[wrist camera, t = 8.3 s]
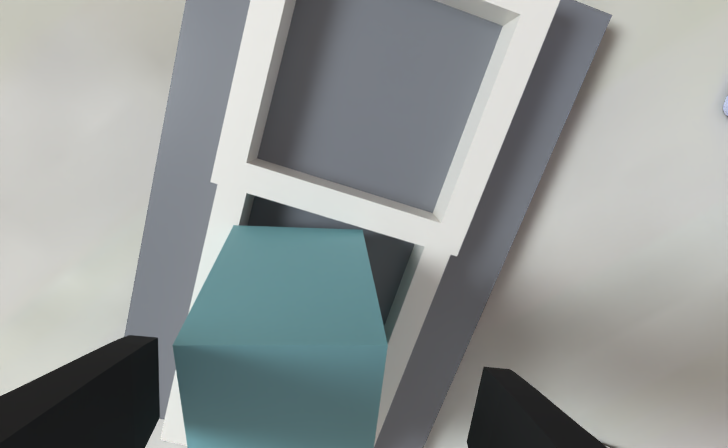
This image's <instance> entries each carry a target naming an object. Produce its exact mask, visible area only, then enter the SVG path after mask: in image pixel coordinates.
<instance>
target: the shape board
mask: <svg viewBox="0 0 728 448" xmlns="http://www.w3.org/2000/svg"><path fill="white" fill-rule="evenodd" d="M611 17H612V15H611V14H608V13H605V12H603V11H600V10H598V9H595V8H592V7H590V6H587V5H585V4H582V3H580V2H577V1H574V0H186V3H185V9H184V14H183V20H182V25H181V30H180V36H179V41H178V47H177V52H176V58H175V63H174V69H173V74H172V80H171V85H170V90H169V96H168V101H167V107H166V112H165V118H164V123H163V129H162V134H161V140H160V145H159V150H158V156H157V161H156V167H155V172H154V178H153V183H152V189H151V194H150V200H149V205H148V210H147V216H146V221H145V227H144V232H143V238H142V243H141V249H140V254H139V260H138V265H137V270H136V276H135V281H134V287H133V292H132V298H131V303H130V309H129V314H128V320H127V325H126V330H125V336H124V337H126V336H128V335H135V336H146V337H157V338H158V357H159V398H160V419H164V423H163V428H162V432H161V437H160V440H163V441H167V442H171V443H176V444H180V445H185V446H187V440H186V434H185V427H184V420H183V413H182V407H181V400H180V393H179V386H178V380H177V373H176V366H175V359H174V352H173V346H172V345H173V343H174V341H175V339H176V337H177V336H178V334H179V332H180V330H181V328H182V326H183V324H184V322H185V320H186V318H187V316H188V314H189V312H190V310H191V308H192V306H193V304H194V302H195V300H196V298H197V296H198V294H199V292H200V290H201V288H202V286H203V284H204V282H205V280H206V278H207V276H208V275H209V273H210V271H211V269H212V267H213V265H214V263H215V261H216V259H217V257H218V255H219V253H220V251H221V249H222V247H223V245H224V243H225V241H226V239H227V237H228V235H229V233H230V231H231V229H232V227H233V225H240V226H269V227H297V228H326V229H355V230H363V234H364V239H365V243H366V248H367V253H368V257H369V262H370V266H371V271H372V275H373V280H374V284H375V289H376V293H377V298H378V302H379V307H380V312H381V316H382V321H383V325H384V330H385V334H386V339H387V343H388V348H387V355H386V362H385V370H384V377H383V384H382V392H381V399H380V406H379V414H378V421H377V428H376V436H375V443H374V448H423V447H424V445H425V442H426V440H427V438H428V436H429V433H430V431H431V429H432V426H433V424H434V422H435V420H436V417H437V415H438V413H439V410H440V408H441V406H442V404H443V401H444V399H445V397H446V394H447V392H448V390H449V387H450V385H451V383H452V381H453V378H454V376H455V374H456V371H457V369H458V367H459V365H460V362H461V360H462V358H463V355H464V353H465V351H466V349H467V346H468V344H469V342H470V339H471V337H472V335H473V333H474V330H475V328H476V326H477V323H478V321H479V319H480V317H481V314H482V312H483V310H484V307H485V305H486V303H487V300H488V298H489V296H490V294H491V291H492V289H493V287H494V284H495V282H496V280H497V278H498V275H499V273H500V271H501V268H502V266H503V264H504V262H505V259H506V257H507V255H508V252H509V250H510V248H511V246H512V243H513V241H514V239H515V236H516V234H517V232H518V230H519V227H520V225H521V223H522V220H523V218H524V216H525V213H526V211H527V209H528V207H529V204H530V202H531V200H532V197H533V195H534V193H535V191H536V188H537V186H538V184H539V181H540V179H541V177H542V175H543V172H544V170H545V168H546V165H547V163H548V161H549V159H550V156H551V154H552V152H553V149H554V147H555V145H556V143H557V140H558V138H559V136H560V133H561V131H562V129H563V126H564V124H565V122H566V120H567V117H568V115H569V113H570V110H571V108H572V106H573V104H574V101H575V99H576V97H577V94H578V92H579V90H580V88H581V85H582V83H583V81H584V78H585V76H586V74H587V72H588V69H589V67H590V65H591V62H592V60H593V58H594V56H595V53H596V51H597V49H598V46H599V44H600V42H601V39H602V37H603V35H604V33H605V30H606V28H607V26H608V23H609V21H610V19H611Z"/></svg>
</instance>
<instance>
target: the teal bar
mask: <svg viewBox="0 0 728 448" xmlns="http://www.w3.org/2000/svg"><path fill="white" fill-rule="evenodd" d="M172 346H173V352H174V359H175V366H176V373H177V380H178V386H179V393H180V400H181V407H182V413H183V420H184V427H185V434H186V440H187V447H188V448H374V443H375V436H376V428H377V421H378V414H379V406H380V399H381V392H382V384H383V377H384V370H385V362H386V355H387V348H388V343H387V339H386V334H385V330H384V325H383V321H382V316H381V312H380V307H379V302H378V298H377V293H376V289H375V284H374V280H373V275H372V271H371V266H370V262H369V257H368V253H367V248H366V243H365V239H364V234H363V230H355V229H326V228H297V227H269V226H240V225H233V227H232V229H231V231H230V233H229V235H228V237H227V239H226V241H225V243H224V245H223V247H222V249H221V251H220V253H219V255H218V257H217V259H216V261H215V263H214V265H213V267H212V269H211V271H210V273H209V275H208V276H207V278H206V280H205V282H204V284H203V286H202V288H201V290H200V292H199V294H198V296H197V298H196V300H195V302H194V304H193V306H192V308H191V310H190V312H189V314H188V316H187V318H186V320H185V322H184V324H183V326H182V328H181V330H180V332H179V334H178V336H177V337H176V339H175V341H174V343H173V345H172Z"/></svg>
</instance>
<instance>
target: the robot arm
mask: <svg viewBox="0 0 728 448" xmlns="http://www.w3.org/2000/svg"><path fill="white" fill-rule="evenodd" d="M723 110H724V113H725V115H727V116H728V96H727V98H726V100H725V102H724V105H723ZM159 418H160V398H159V357H158V338H157V337H146V336H135V335H128V336H126V337H123V338H121V339H118V340H116V341H114V342H111V343H109V344H107V345H105V346H103V347H101V348H99V349H97V350H95V351H93V352H90V353H88V354H86V355H84V356H82V357H80V358H78V359H76V360H74V361H72V362H70V363H68V364H66V365H64V366H62V367H60V368H58V369H56V370H54V371H52V372H50V373H48V374H46V375H43V376H41V377H39V378H37V379H35V380H33V381H31V382H29V383H27V384H25V385H23V386H21V387H19V388H17V389H15V390H13V391H10V392H8V393H6V394H4V395H2V396H0V448H145V446H146V444H147V442H148V440H149V438H150V436H151V434H152V432H153V430H154V428H155V426H156V424H157V422H158V420H159ZM467 444H468V448H607V447H606V446H605V445H603V444H602V443H601V442H600V441H598V440H597V439H596V438H595V437H593V436H592V435H591V434H590V433H588V432H587V431H586V430H585V429H584V428H582V427H581V426H580V425H579V424H577V423H576V422H575V421H574V420H573V419H571V418H570V417H569V416H568V415H567V414H565V413H564V412H563V411H562V410H560V409H559V408H558V407H557V406H556V405H554V404H553V403H552V402H551V401H550V400H548V399H547V398H546V397H545V396H544V395H542V394H541V393H540V392H539V391H538V390H536V389H535V388H534V387H533V386H531V385H530V384H529V383H528V382H526V381H525V380H524V379H523V378H521V377H520V376H519V375H517V374H516V373H515V372H513V371H512V370H510V369H500V368H489V367H484V368H483V373H482V377H481V382H480V386H479V390H478V395H477V399H476V404H475V408H474V412H473V417H472V421H471V426H470V430H469V435H468V439H467Z"/></svg>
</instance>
